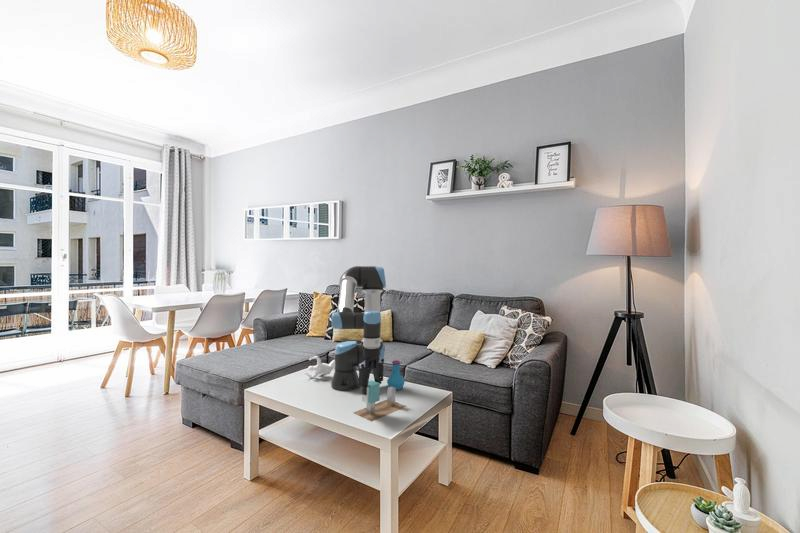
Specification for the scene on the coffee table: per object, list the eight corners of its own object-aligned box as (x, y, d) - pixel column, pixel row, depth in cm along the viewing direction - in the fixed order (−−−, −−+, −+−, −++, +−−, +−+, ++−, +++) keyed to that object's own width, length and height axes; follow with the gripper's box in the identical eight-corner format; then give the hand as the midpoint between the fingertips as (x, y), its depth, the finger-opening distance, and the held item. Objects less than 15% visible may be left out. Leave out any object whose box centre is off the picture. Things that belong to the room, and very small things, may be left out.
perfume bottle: (402, 393, 186) (403, 364, 186) (385, 391, 188) (385, 363, 187) (405, 387, 195) (406, 359, 195) (389, 385, 197) (389, 358, 196)
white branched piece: (328, 353, 221) (309, 354, 205) (345, 360, 215) (326, 362, 199) (322, 373, 221) (302, 377, 205) (338, 382, 215) (319, 385, 199)
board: (352, 415, 159) (352, 412, 159) (388, 401, 176) (388, 399, 176) (371, 423, 151) (371, 421, 151) (406, 408, 167) (406, 406, 167)
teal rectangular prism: (362, 400, 158) (362, 383, 158) (371, 397, 162) (371, 380, 162) (370, 403, 155) (370, 385, 155) (379, 400, 159) (379, 383, 159)
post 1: (366, 413, 159) (366, 395, 159) (370, 411, 161) (371, 393, 161) (370, 415, 157) (370, 396, 157) (374, 413, 159) (375, 395, 159)
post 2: (387, 405, 168) (387, 387, 168) (391, 403, 170) (391, 386, 170) (391, 406, 167) (391, 389, 167) (395, 405, 169) (395, 387, 168)
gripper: (361, 351, 149) (360, 408, 149) (392, 344, 163) (391, 396, 163) (349, 348, 154) (349, 403, 154) (380, 342, 168) (379, 392, 168)
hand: (370, 399), depth 159 cm, fingers closed on teal rectangular prism, 5 cm apart
